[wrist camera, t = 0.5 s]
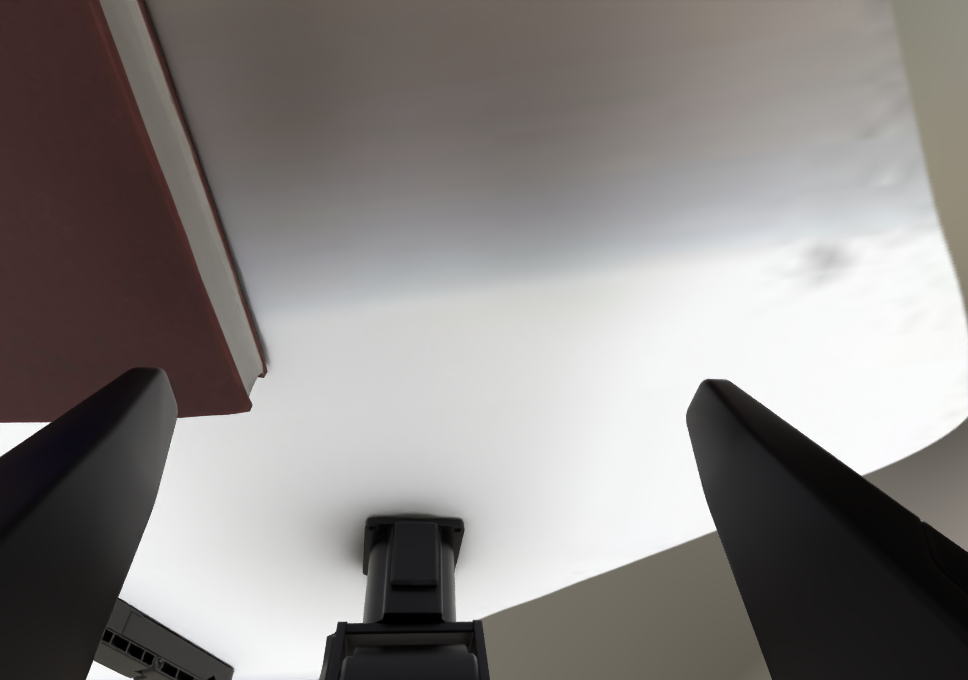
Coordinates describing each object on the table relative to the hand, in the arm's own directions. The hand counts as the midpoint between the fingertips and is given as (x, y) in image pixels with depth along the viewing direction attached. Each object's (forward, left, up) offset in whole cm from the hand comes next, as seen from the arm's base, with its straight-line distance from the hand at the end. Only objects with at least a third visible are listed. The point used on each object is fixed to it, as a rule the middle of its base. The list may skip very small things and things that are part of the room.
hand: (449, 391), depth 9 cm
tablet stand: (-41, +18, -15) cm, 47 cm away
